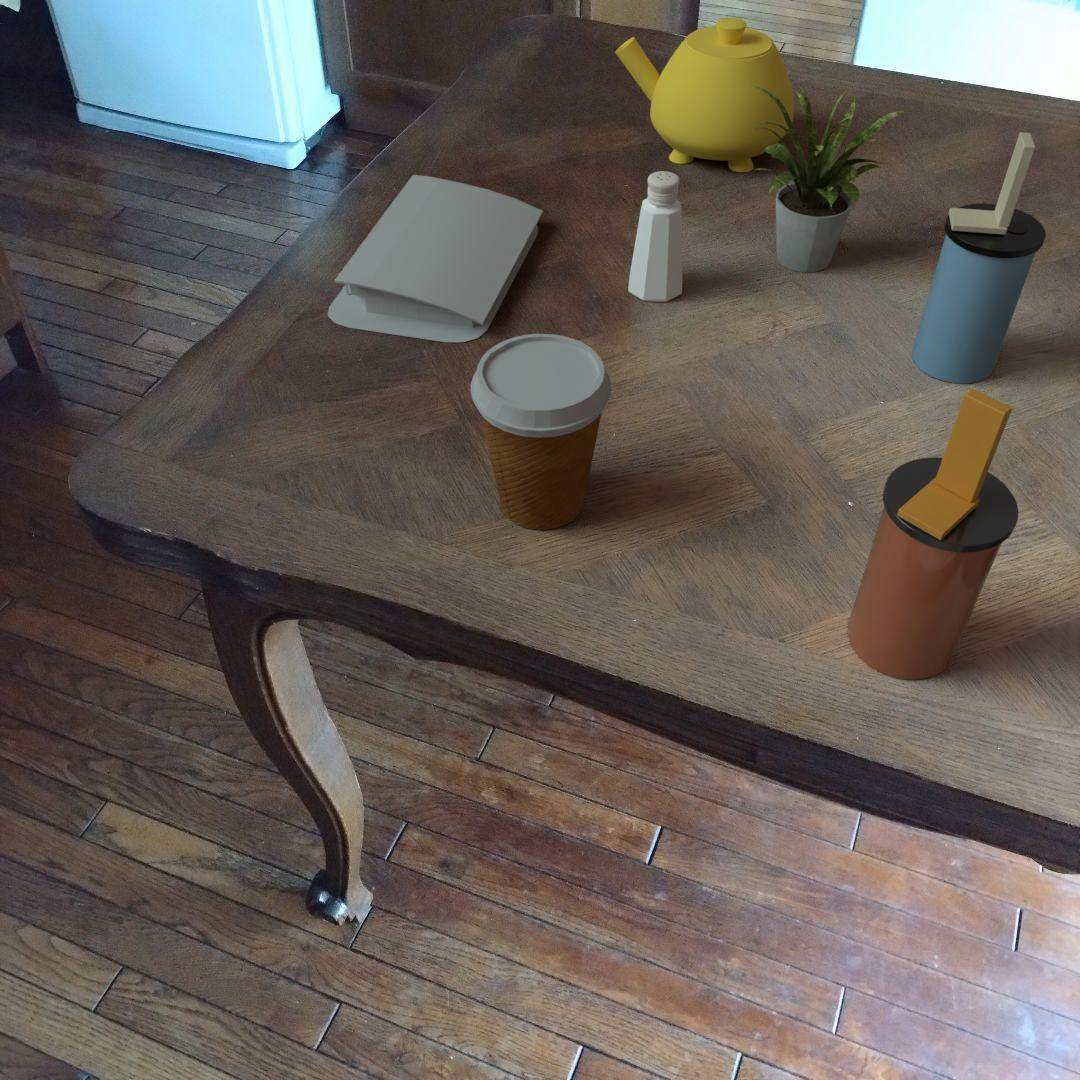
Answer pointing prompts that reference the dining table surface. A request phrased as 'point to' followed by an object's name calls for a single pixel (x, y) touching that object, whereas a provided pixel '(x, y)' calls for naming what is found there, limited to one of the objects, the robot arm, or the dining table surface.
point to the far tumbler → (974, 298)
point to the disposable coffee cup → (541, 424)
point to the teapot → (716, 93)
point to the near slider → (960, 467)
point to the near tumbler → (925, 577)
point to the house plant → (816, 188)
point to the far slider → (1007, 200)
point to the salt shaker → (658, 242)
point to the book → (436, 262)
